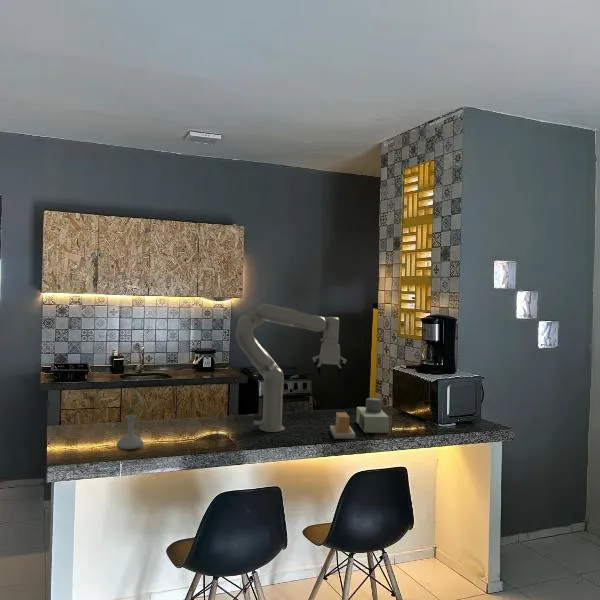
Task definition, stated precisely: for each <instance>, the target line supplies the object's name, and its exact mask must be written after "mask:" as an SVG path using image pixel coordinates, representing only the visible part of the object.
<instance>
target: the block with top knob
mask: <svg viewBox="0 0 600 600" xmlns="http://www.w3.org/2000/svg"><path fill="white" fill-rule="evenodd" d="M389 421H390V416H389V415H387V414H386V413H385V412H384V410H382V399H380V398H378V397H377V398H375V397H368V398H366V399H365V406H357V407H356V423H357V424H359V425H358V426H359V427H360V429H361V430H362V431H363V432H364V434H365V433H371V434H372V433H373V434H374V433H378V434H381V433H382V434H383V433H384V434H389V428H390V427H389V426H390V425H389V424H390V423H389Z"/></svg>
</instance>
